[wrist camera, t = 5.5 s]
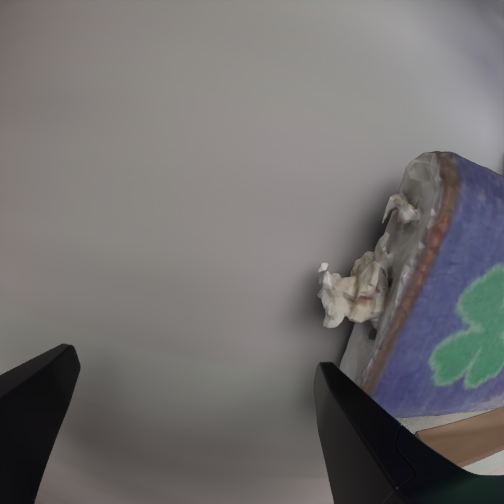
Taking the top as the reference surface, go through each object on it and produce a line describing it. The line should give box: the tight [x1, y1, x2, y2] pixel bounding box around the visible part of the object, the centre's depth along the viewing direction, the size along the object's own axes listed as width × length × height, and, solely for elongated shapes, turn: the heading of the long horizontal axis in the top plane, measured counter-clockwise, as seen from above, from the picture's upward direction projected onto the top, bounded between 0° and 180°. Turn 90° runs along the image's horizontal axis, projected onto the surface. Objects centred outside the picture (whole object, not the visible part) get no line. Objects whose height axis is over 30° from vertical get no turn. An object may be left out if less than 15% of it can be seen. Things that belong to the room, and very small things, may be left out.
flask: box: [317, 151, 504, 418], centre depth 8 cm, size 9×3×11 cm
